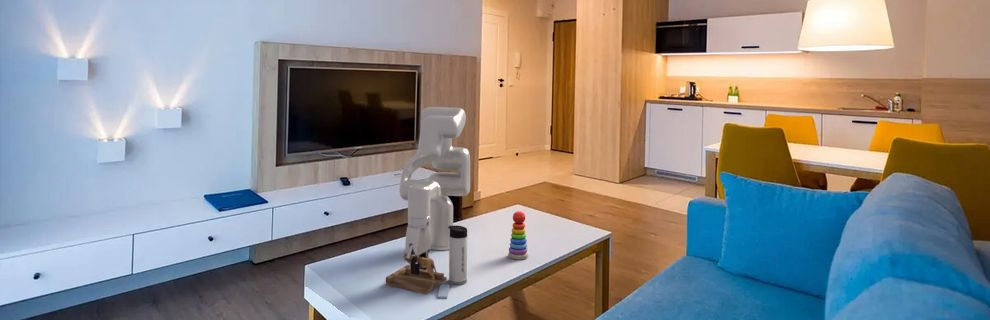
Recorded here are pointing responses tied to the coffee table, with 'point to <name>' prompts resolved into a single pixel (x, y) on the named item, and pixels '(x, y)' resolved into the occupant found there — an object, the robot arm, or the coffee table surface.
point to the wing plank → (443, 291)
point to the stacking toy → (518, 237)
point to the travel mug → (458, 255)
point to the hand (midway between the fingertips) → (419, 271)
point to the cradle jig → (414, 280)
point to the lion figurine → (425, 265)
